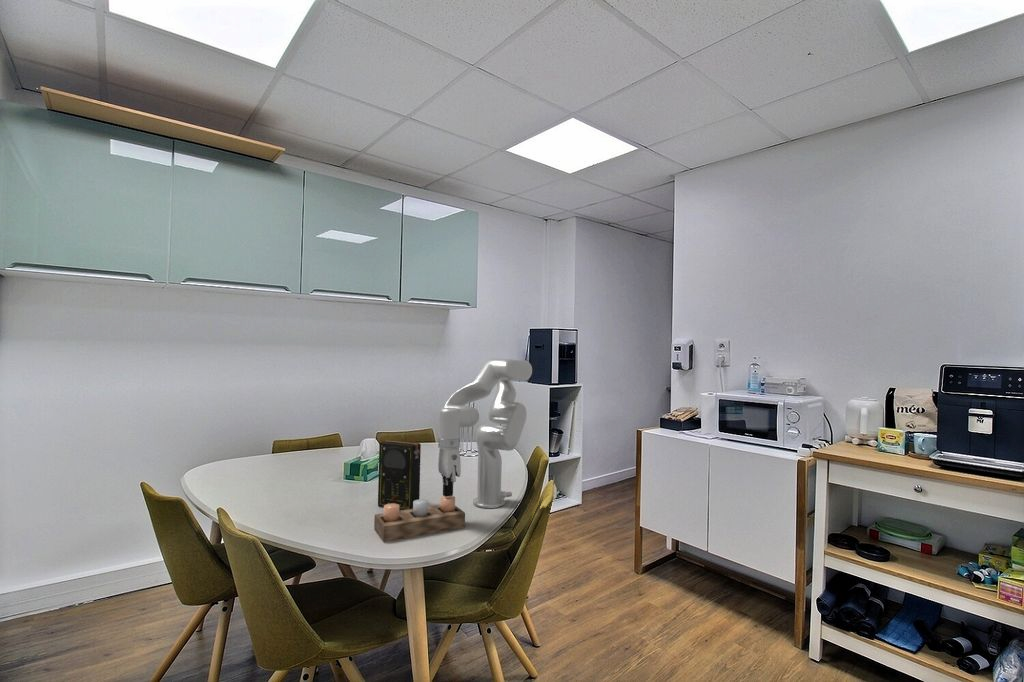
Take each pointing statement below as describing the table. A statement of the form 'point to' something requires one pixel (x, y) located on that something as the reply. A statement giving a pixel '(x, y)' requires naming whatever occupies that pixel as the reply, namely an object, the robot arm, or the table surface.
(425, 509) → the button middle
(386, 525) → the wooden candle holder
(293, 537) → the table surface
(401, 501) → the voltmeter
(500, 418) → the robot arm
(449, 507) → the button
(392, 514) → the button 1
